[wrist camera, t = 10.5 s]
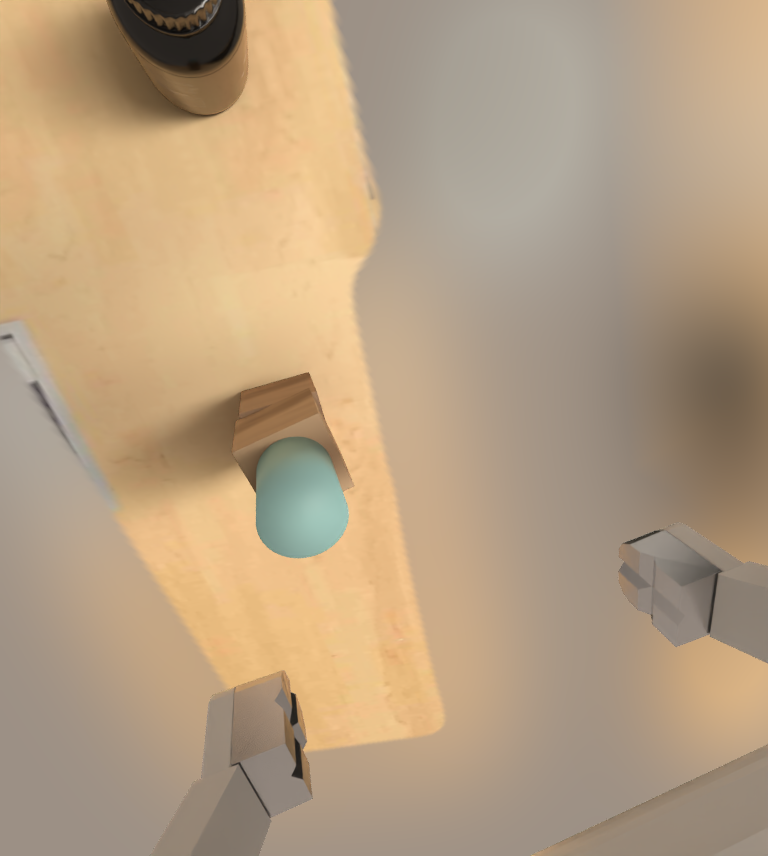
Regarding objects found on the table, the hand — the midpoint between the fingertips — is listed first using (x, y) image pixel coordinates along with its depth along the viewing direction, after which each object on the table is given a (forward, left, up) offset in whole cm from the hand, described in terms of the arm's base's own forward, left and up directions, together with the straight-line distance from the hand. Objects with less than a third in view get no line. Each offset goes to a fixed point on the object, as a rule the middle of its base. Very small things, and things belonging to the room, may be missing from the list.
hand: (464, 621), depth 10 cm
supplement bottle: (-21, -2, -33) cm, 39 cm away
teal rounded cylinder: (+5, -4, -21) cm, 22 cm away
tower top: (+5, -4, -27) cm, 27 cm away
